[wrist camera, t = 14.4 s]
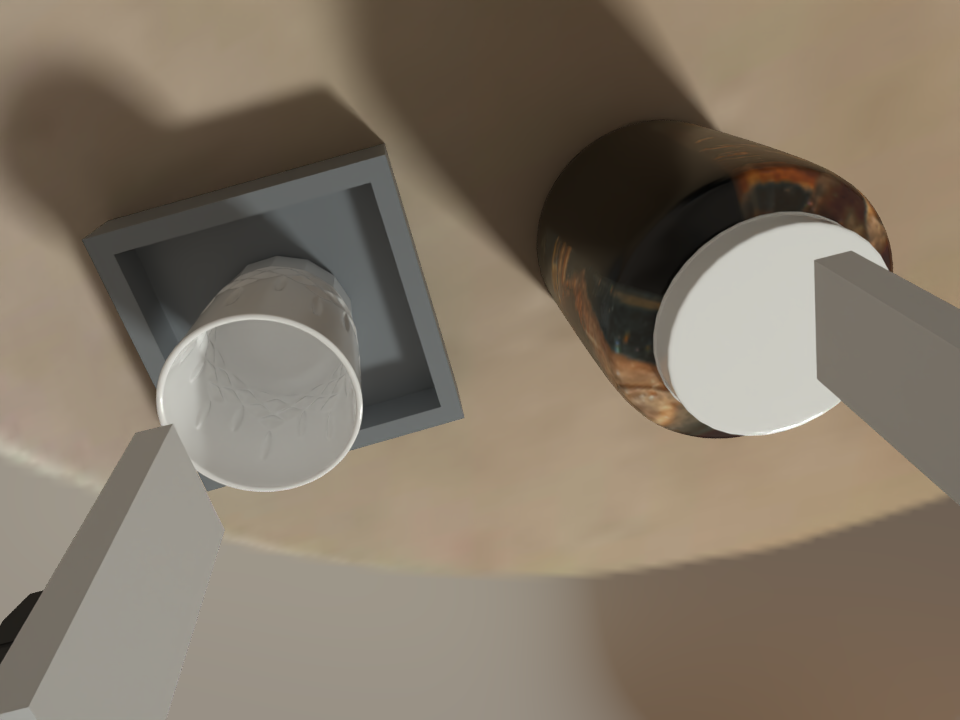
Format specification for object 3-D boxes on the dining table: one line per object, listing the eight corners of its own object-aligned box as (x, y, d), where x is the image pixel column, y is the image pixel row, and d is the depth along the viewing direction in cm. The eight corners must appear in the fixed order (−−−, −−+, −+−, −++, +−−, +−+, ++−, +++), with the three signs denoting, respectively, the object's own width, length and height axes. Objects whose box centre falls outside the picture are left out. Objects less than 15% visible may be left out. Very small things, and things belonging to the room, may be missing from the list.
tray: (107, 221, 36) (82, 239, 33) (384, 143, 37) (385, 154, 33) (219, 456, 42) (207, 491, 39) (457, 388, 42) (464, 417, 39)
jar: (584, 84, 37) (708, 118, 23) (785, 156, 39) (1001, 224, 26) (506, 303, 41) (573, 441, 27) (693, 354, 44) (838, 502, 30)
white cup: (205, 379, 39) (155, 485, 30) (210, 233, 36) (155, 302, 27) (357, 393, 41) (352, 498, 32) (373, 254, 38) (373, 326, 29)
